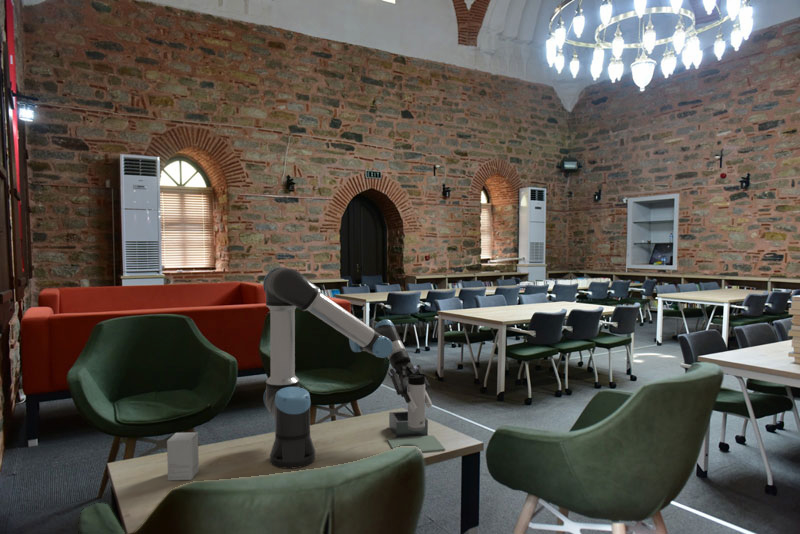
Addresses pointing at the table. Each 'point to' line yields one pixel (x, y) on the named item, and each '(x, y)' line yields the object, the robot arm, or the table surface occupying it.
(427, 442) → the mat
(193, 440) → the supplement box
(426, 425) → the sleeve
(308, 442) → the robot arm
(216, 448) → the table surface
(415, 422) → the travel mug
